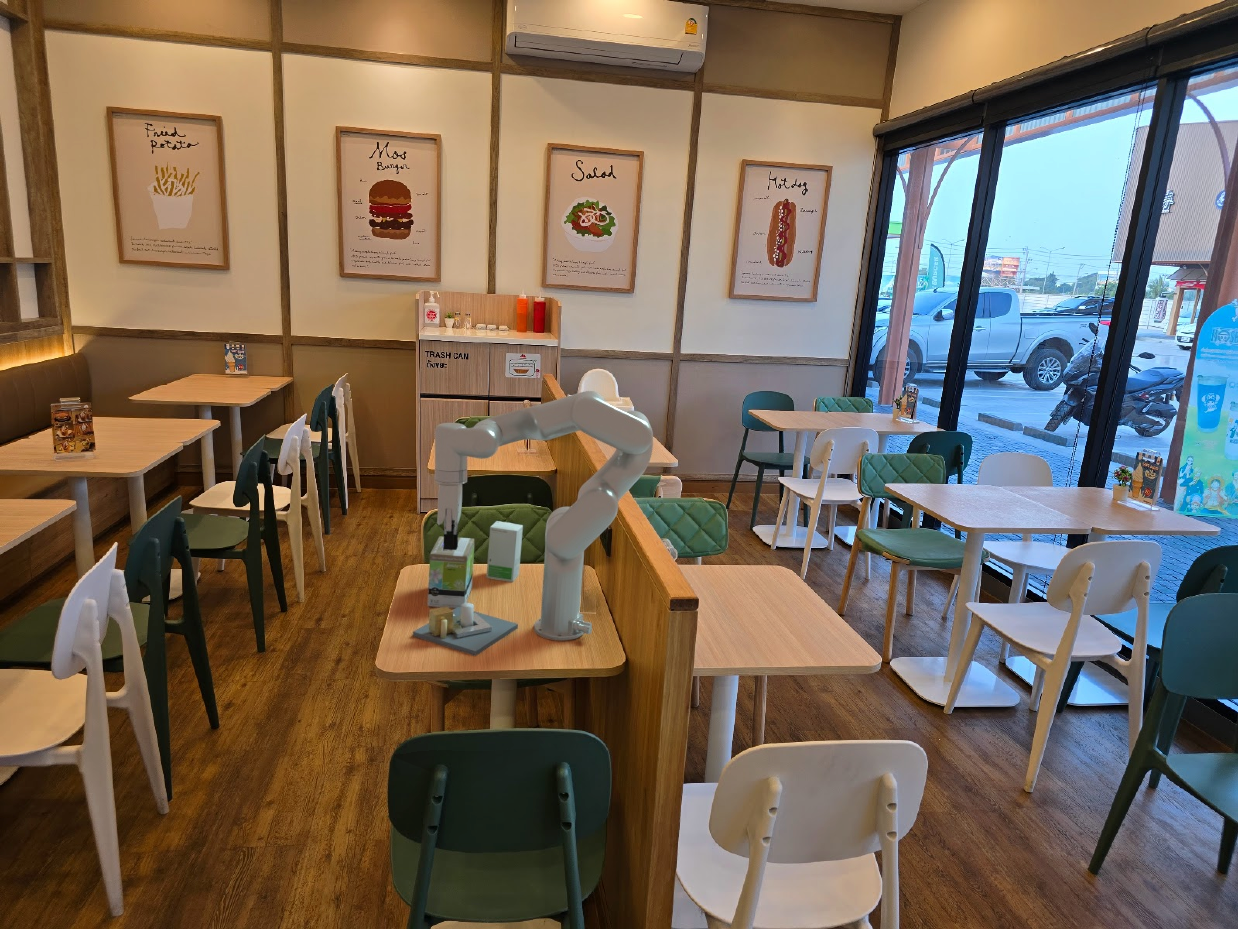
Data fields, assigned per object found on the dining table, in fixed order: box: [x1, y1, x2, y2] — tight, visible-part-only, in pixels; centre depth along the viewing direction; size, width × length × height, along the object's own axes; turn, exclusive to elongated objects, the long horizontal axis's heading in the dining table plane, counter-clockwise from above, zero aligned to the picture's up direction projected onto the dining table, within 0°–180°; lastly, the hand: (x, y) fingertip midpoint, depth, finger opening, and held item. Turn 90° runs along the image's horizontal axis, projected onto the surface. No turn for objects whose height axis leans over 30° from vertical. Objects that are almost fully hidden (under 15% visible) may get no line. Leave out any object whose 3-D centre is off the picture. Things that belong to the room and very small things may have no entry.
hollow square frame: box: [428, 607, 492, 638], centre depth 197 cm, size 14×9×6 cm, turn 126°
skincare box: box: [486, 520, 524, 583], centre depth 234 cm, size 8×7×16 cm
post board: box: [412, 602, 519, 657], centre depth 198 cm, size 18×18×7 cm
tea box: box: [427, 535, 475, 609], centre depth 217 cm, size 15×10×15 cm, turn 3°
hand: (450, 548), depth 198 cm, fingers closed
